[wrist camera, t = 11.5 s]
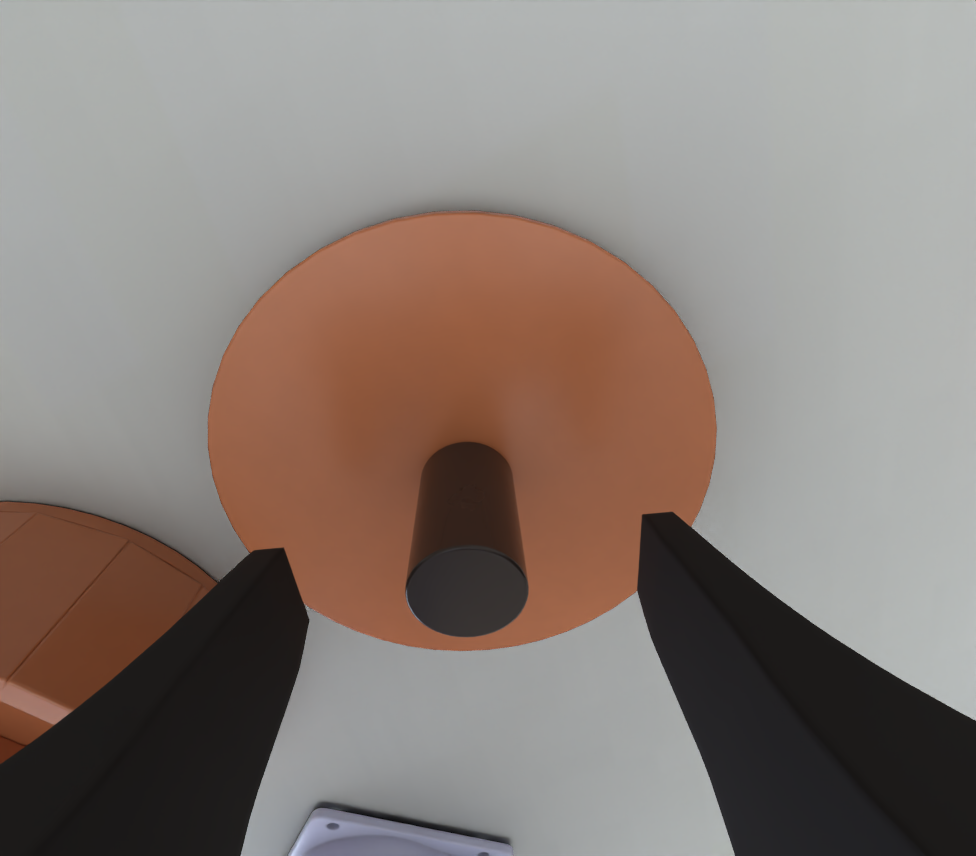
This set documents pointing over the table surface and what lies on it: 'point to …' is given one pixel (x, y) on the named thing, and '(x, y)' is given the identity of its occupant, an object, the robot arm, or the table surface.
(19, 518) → the pot
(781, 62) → the table surface
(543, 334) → the lid
